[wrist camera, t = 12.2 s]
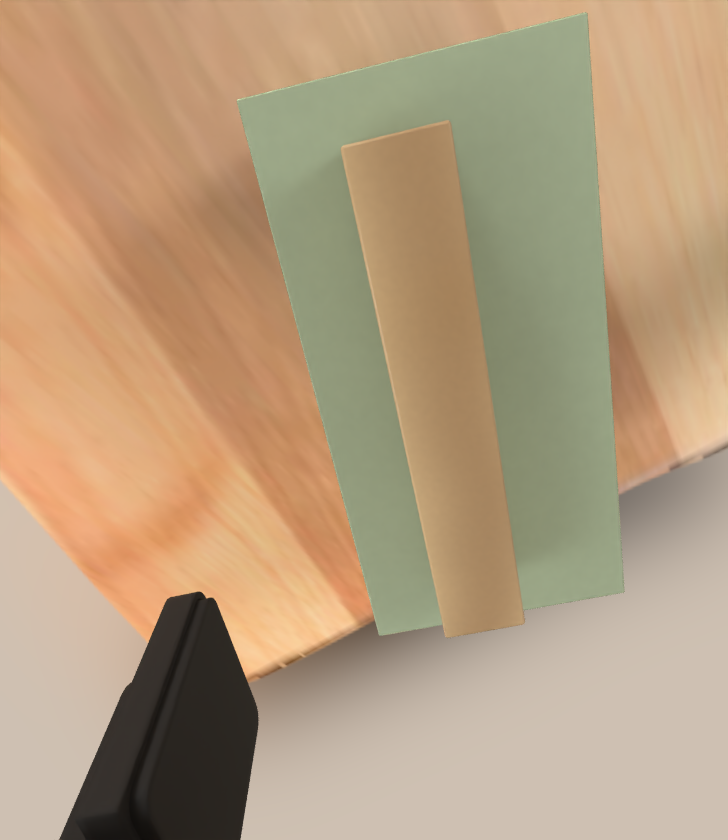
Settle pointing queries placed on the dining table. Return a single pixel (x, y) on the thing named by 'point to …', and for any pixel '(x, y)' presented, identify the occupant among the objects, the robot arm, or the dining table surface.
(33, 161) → the dining table surface
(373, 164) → the stick
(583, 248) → the shelf
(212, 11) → the dining table surface
